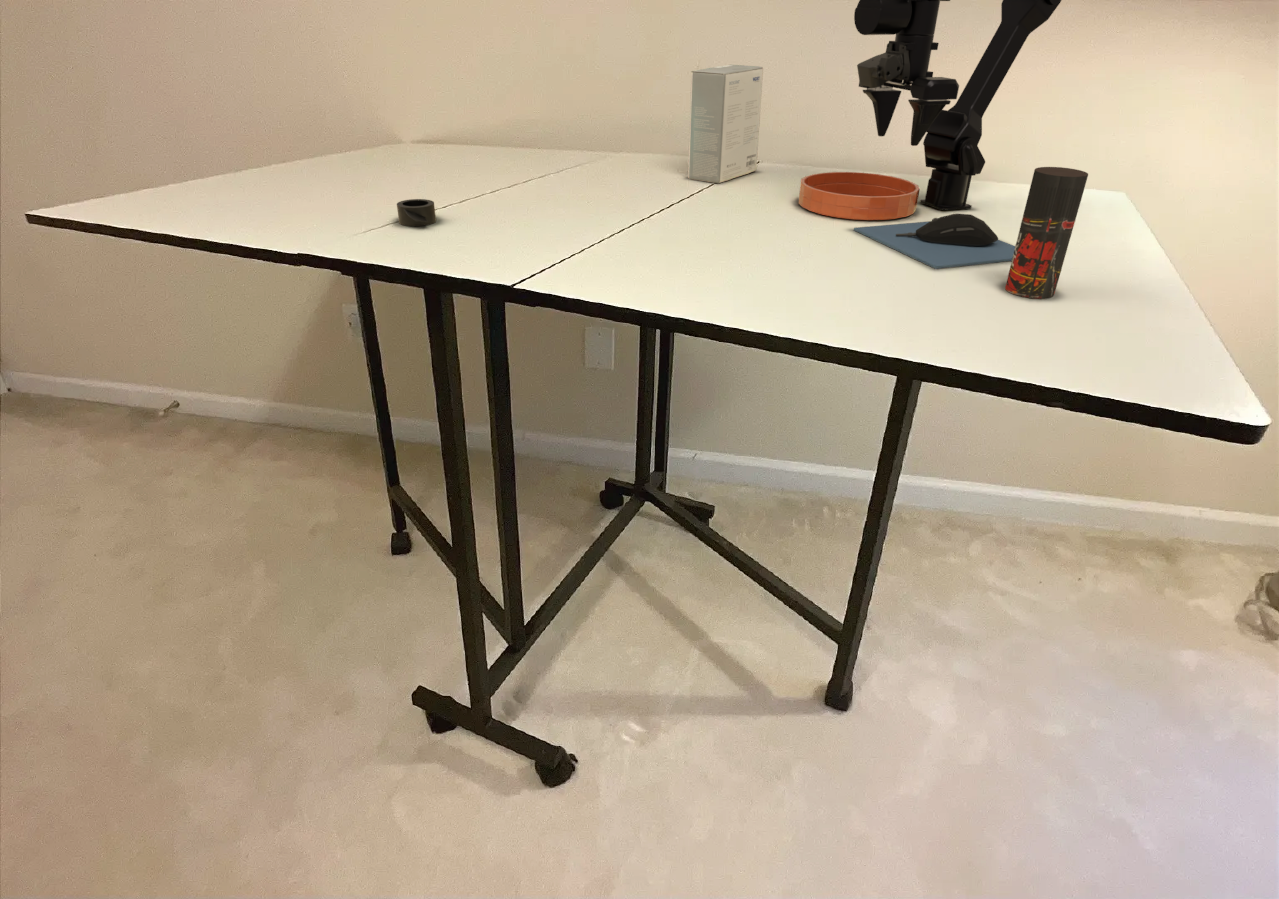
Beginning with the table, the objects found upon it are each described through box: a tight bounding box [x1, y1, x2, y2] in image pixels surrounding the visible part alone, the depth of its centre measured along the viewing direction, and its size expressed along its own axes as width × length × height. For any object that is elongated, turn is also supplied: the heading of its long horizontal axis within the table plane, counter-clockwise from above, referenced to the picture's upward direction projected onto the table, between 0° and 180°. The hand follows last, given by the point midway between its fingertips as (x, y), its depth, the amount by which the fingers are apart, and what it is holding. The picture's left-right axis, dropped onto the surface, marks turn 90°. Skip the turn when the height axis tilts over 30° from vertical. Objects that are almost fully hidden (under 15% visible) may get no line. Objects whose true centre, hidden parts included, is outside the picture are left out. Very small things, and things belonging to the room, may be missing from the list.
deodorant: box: [1004, 166, 1089, 300], centre depth 101 cm, size 6×6×15 cm
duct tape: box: [396, 198, 437, 227], centre depth 130 cm, size 8×10×3 cm
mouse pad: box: [853, 220, 1016, 270], centre depth 124 cm, size 18×21×1 cm
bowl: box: [798, 171, 921, 221], centre depth 142 cm, size 20×20×4 cm
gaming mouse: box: [896, 213, 999, 246], centre depth 123 cm, size 6×15×4 cm, turn 77°
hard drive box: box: [687, 64, 764, 184], centre depth 160 cm, size 16×8×20 cm, turn 144°
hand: (897, 140), depth 133 cm, fingers open, 9 cm apart
